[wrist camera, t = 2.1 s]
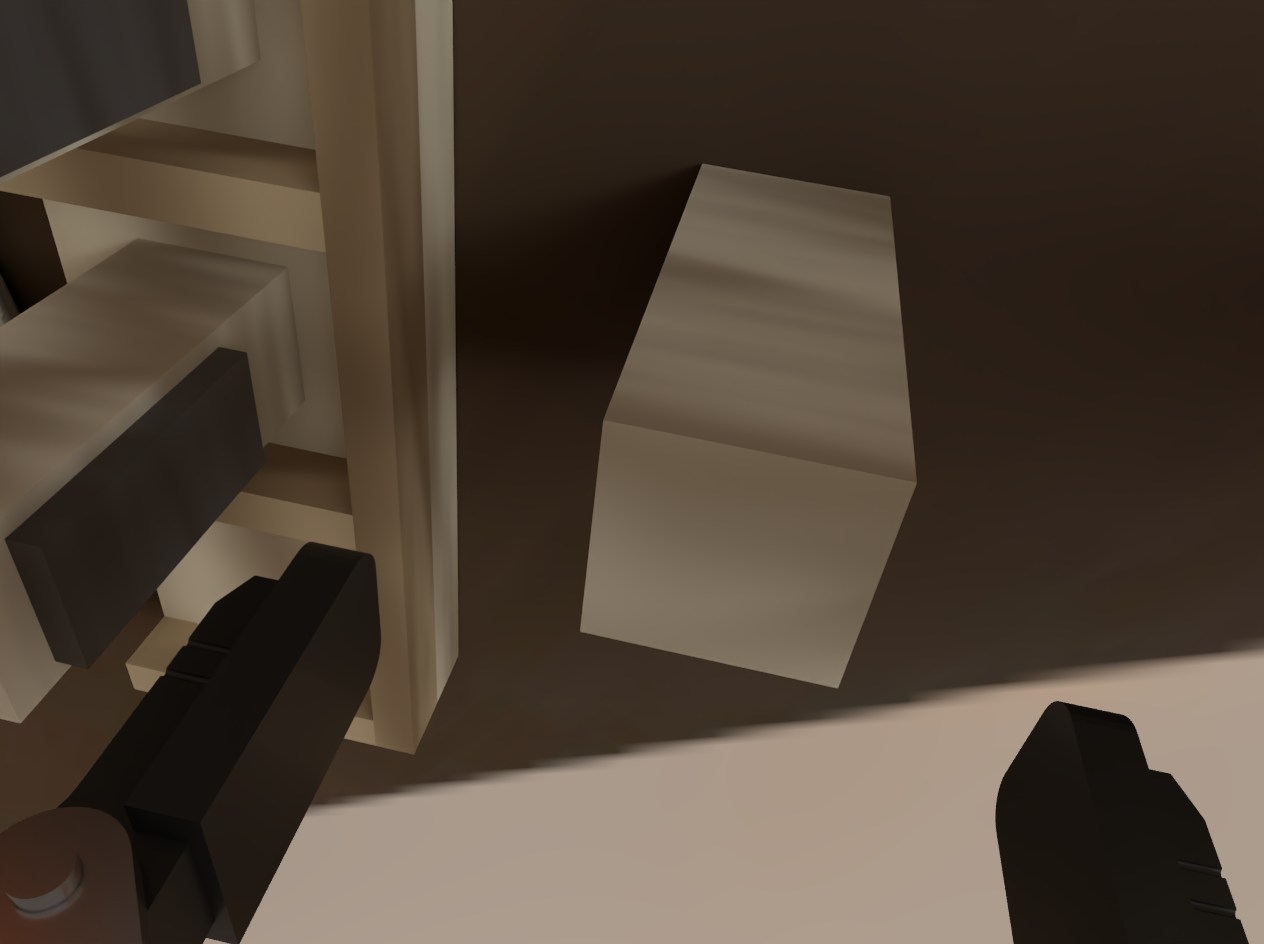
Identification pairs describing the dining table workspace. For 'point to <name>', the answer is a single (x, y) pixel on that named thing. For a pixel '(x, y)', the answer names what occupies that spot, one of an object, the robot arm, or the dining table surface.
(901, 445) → the beige cuboid
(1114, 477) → the dining table surface
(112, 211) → the wooden block rack
